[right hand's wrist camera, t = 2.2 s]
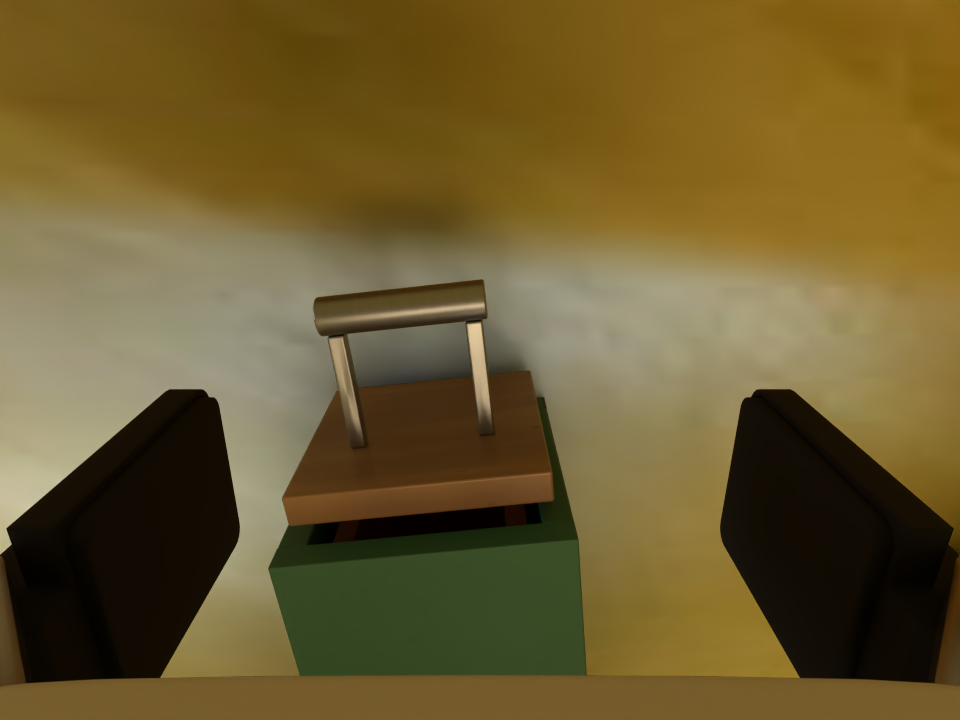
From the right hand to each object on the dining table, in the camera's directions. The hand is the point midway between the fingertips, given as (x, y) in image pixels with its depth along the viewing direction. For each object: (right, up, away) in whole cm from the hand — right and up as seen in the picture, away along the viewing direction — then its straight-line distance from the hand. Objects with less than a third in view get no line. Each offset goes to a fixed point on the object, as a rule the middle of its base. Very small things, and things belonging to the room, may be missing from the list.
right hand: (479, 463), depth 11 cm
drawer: (-2, -5, +20) cm, 20 cm away
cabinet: (-1, -10, +23) cm, 25 cm away
